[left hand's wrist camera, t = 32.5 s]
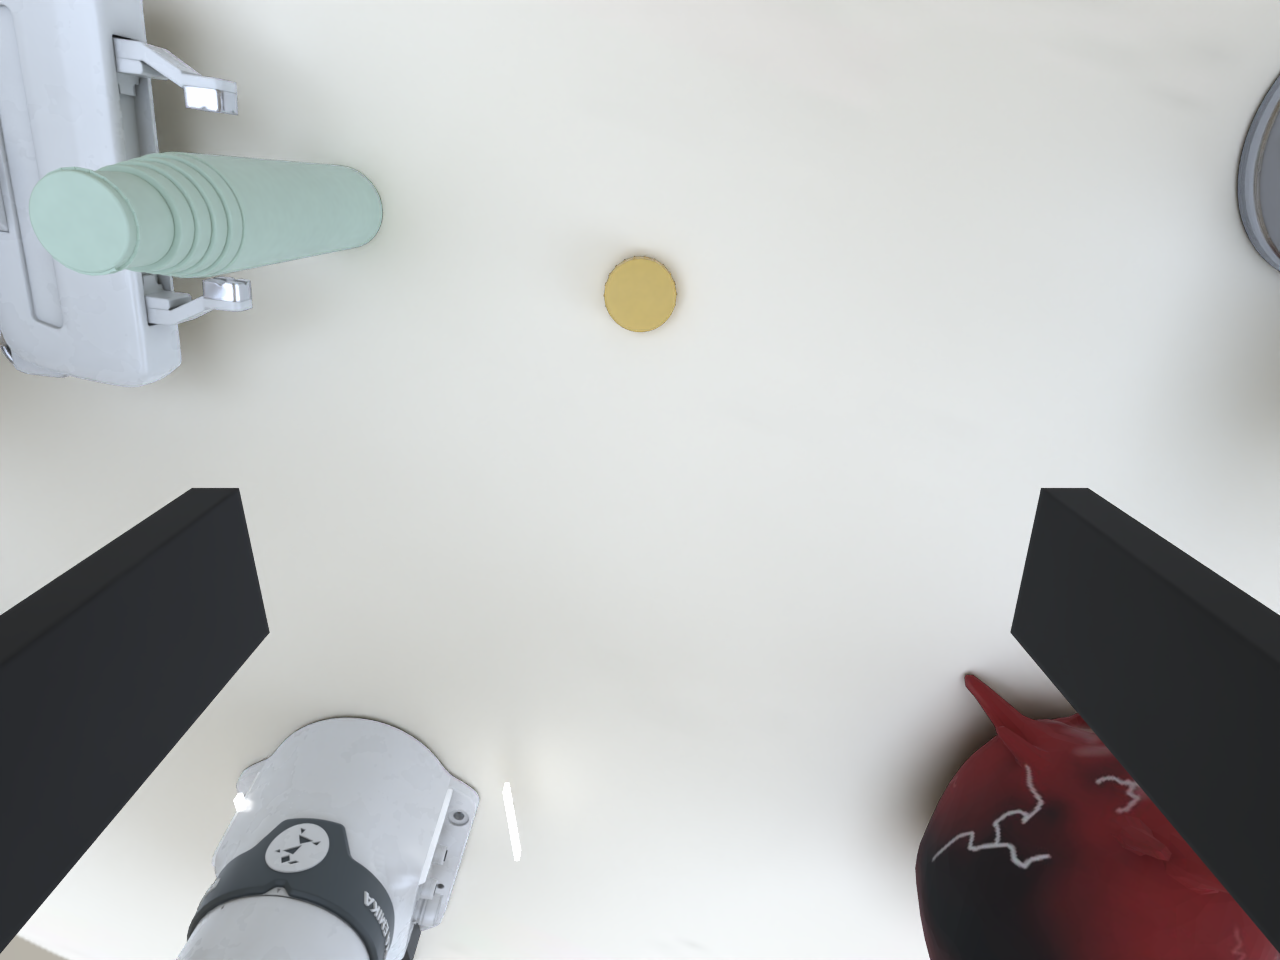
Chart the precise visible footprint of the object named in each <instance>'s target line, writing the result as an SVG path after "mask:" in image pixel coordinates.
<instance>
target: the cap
mask: <svg viewBox="0 0 1280 960" xmlns="http://www.w3.org/2000/svg"><path fill="white" fill-rule="evenodd" d="M675 285H676V284H675V281H673V279H672V277H671V273H670V272H669V271H668V270H667V269H666V268H665V266H664V264H661V263H659V262H658V261H656V260H655V259H651V258H648V257H646V256H644V257H635V256H634V257H632V258H629V259H627V260H625V259H624V261H623V262H621V263H620V264H618V265H616V266H615V268H614V270H613V271H612V272H611V273H610V274H609V278H608V280H607V283H605V286H606V287H605V293H604V297H605V304H606V305H605V306H606V307H607V310H608V312H609V314H610V316H611V317H612V318H613V320H614V321H615V322H616V323H617V324H619V325H620V326H621V327H623V328H625V329H627V330H630V331H635V332H646V331H650V330H653V329H656V328H658V327H659V326H661V325H662V324H663V323H665V321H666V320H667V319H668V318H669V317H670V315H671V313H672V311H673V309H674V306H675V305H676V304H675V302H676V295H677V293H676V289H675Z"/></svg>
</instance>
